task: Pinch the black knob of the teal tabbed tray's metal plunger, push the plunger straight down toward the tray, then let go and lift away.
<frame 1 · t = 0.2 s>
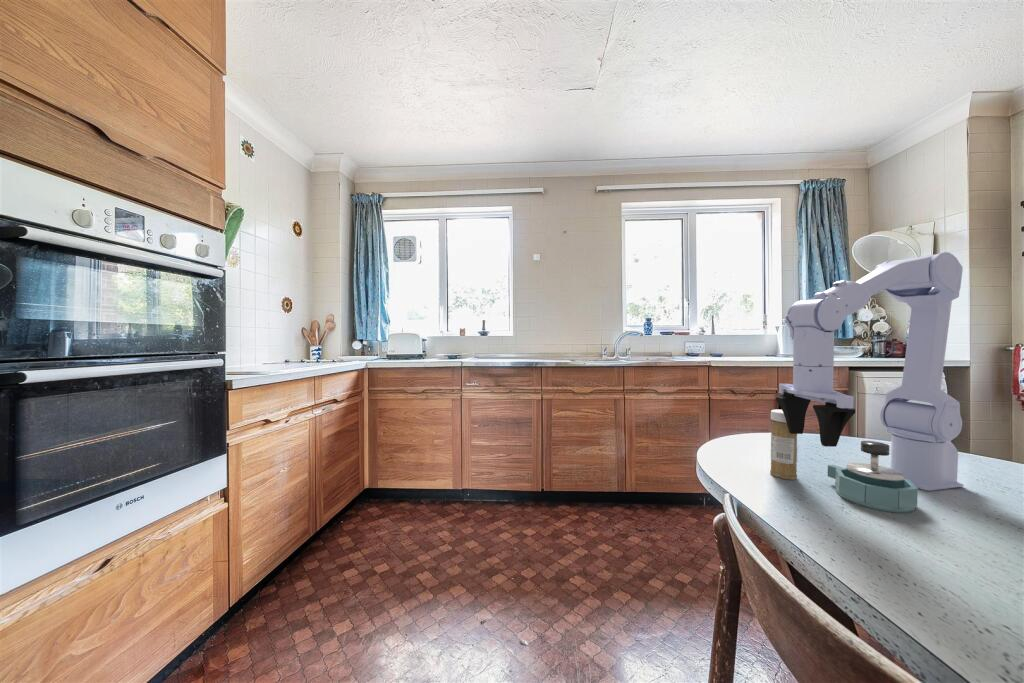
hand: (811, 439, 68), 10 cm above the table, tool pointing down, fingers open, 7 cm apart
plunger: (874, 458, 65), point 7 cm above the table, slide at 0.0 cm
teal tabbed tray: (873, 499, 66), on the table
sprinkles bottle: (783, 476, 76), on the table
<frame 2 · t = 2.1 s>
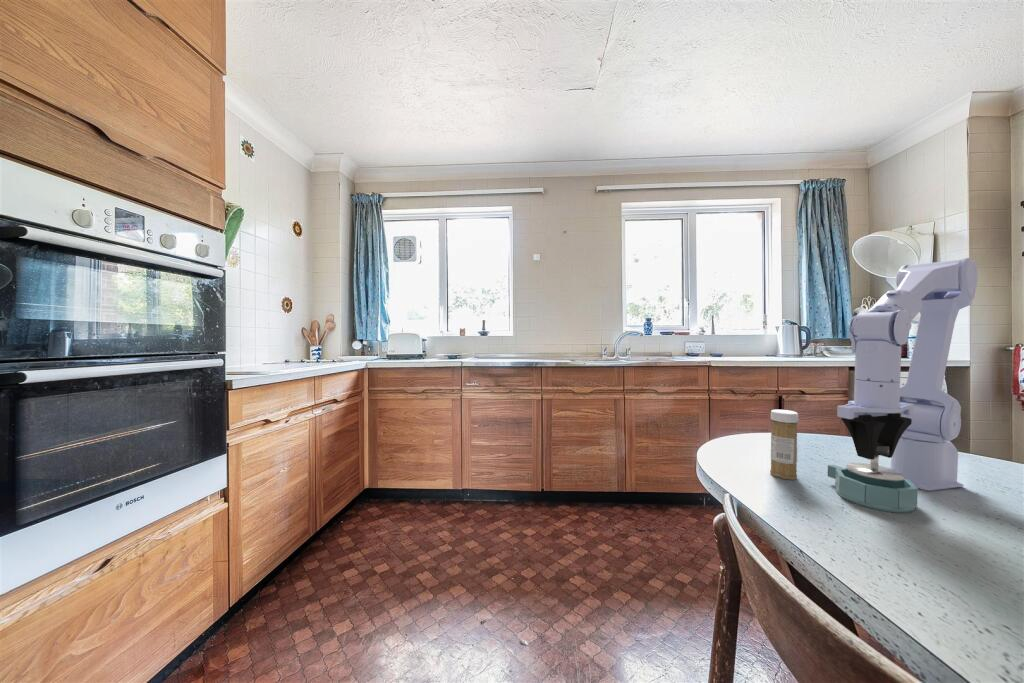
hand: (874, 456, 65), 8 cm above the table, tool pointing down, fingers closed on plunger, 4 cm apart
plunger: (874, 458, 65), point 7 cm above the table, slide at 0.0 cm, touching gripper
everything else where it was.
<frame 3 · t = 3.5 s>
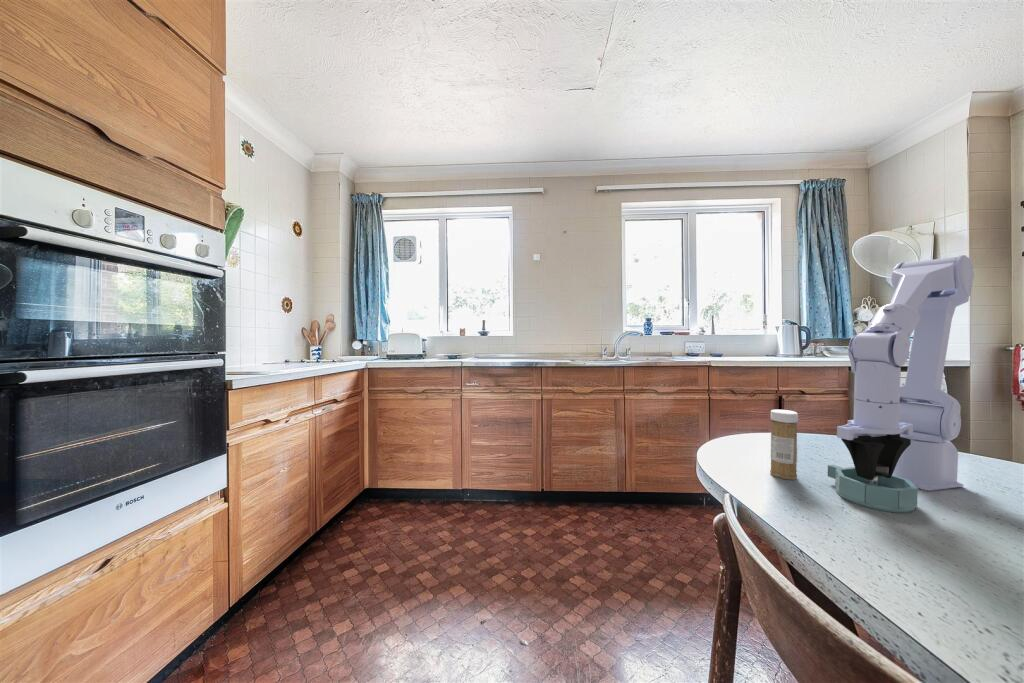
hand: (874, 476, 66), 4 cm above the table, tool pointing down, fingers closed on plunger, 3 cm apart
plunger: (873, 478, 66), point 4 cm above the table, slide at 3.6 cm, touching gripper
everything else where it was.
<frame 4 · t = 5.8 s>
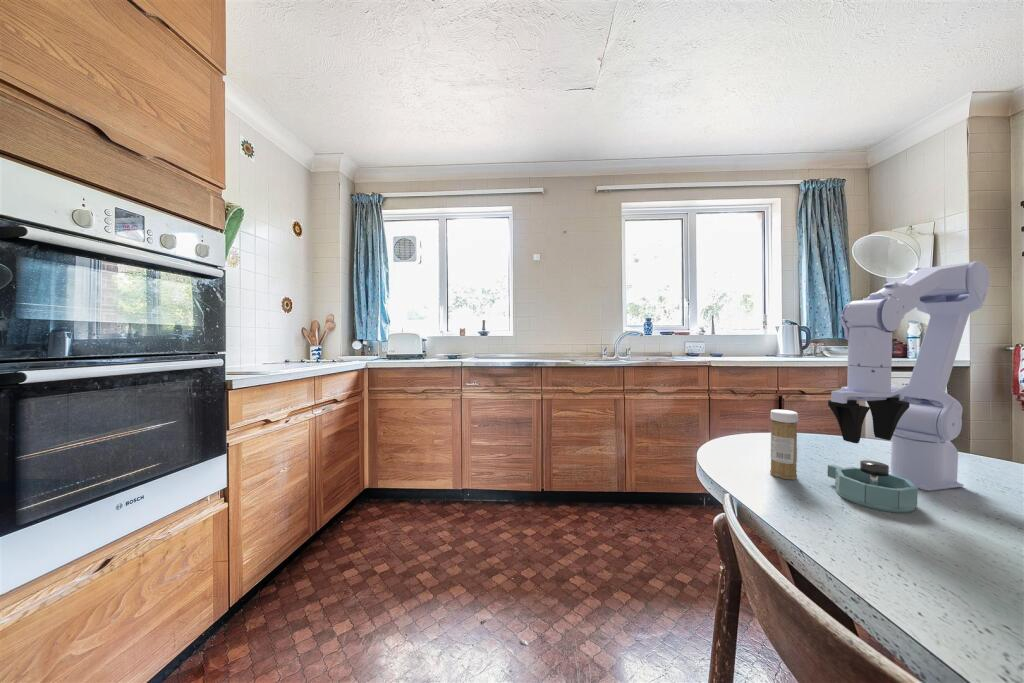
hand: (867, 440, 68), 10 cm above the table, tool pointing down, fingers open, 7 cm apart
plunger: (873, 478, 66), point 4 cm above the table, slide at 3.6 cm
everything else where it was.
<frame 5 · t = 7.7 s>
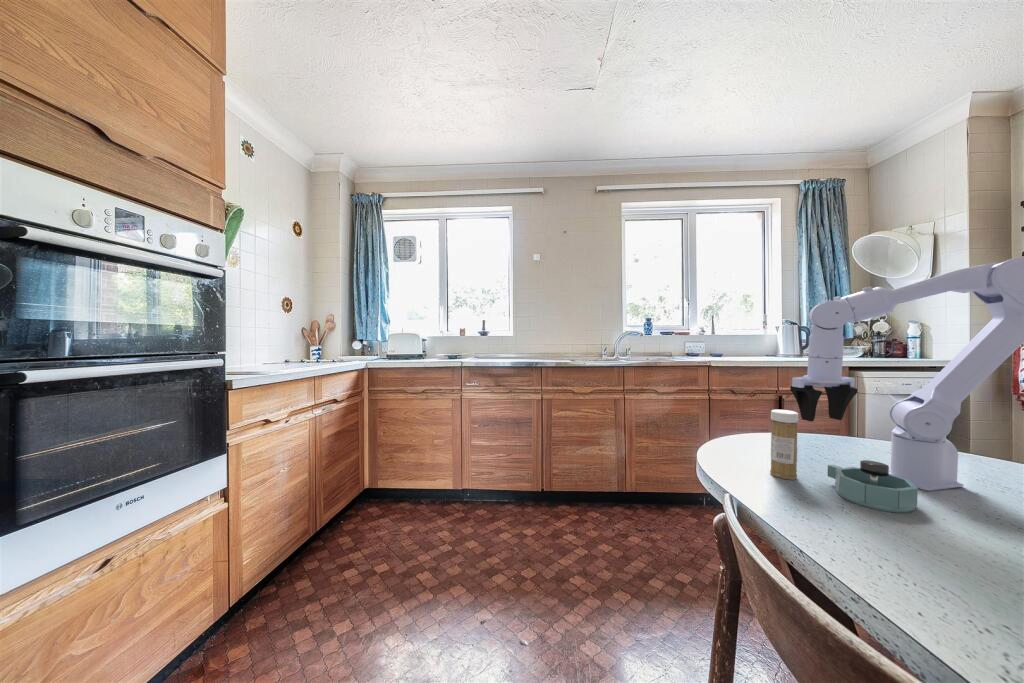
hand: (821, 419, 81), 10 cm above the table, tool pointing down, fingers open, 7 cm apart
nothing on the table moved.
at the end: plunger slide at 3.6 cm; the gripper is holding nothing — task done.
